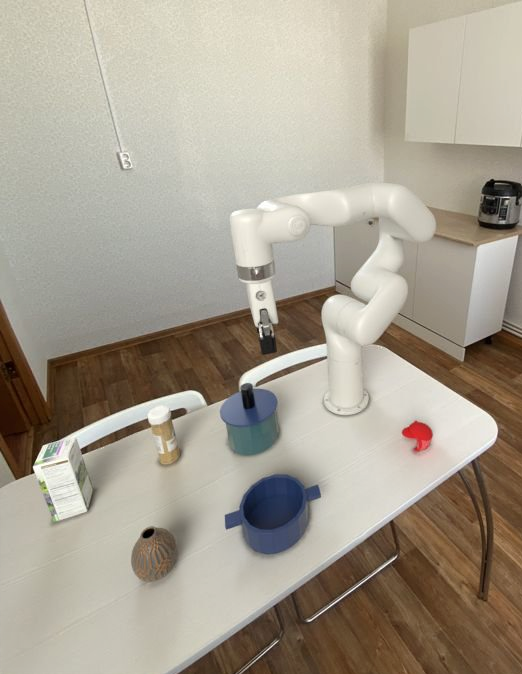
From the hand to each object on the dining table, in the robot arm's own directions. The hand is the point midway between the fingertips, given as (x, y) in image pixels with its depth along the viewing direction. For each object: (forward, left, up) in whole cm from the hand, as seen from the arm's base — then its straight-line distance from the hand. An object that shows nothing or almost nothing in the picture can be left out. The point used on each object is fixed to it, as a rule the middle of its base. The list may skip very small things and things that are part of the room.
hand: (266, 342), depth 85 cm
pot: (+1, -6, -27) cm, 28 cm away
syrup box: (+29, -30, -27) cm, 50 cm away
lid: (+1, -6, -18) cm, 19 cm away
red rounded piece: (-9, +33, -27) cm, 44 cm away
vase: (+33, -4, -27) cm, 43 cm away
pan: (+19, +11, -27) cm, 35 cm away
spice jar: (+13, -21, -27) cm, 37 cm away
